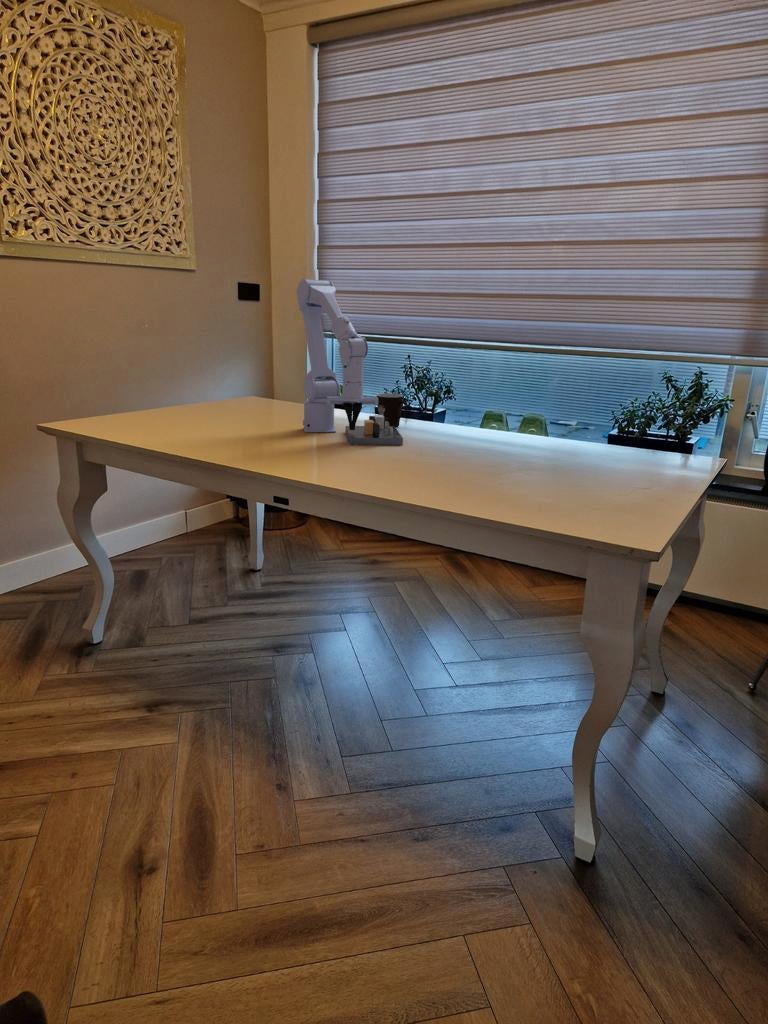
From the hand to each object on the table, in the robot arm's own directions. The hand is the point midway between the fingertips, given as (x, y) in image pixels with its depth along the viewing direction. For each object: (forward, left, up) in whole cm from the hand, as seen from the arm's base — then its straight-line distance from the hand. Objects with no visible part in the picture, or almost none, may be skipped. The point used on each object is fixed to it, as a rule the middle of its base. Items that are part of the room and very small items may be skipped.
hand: (352, 429), depth 191 cm
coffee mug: (+14, +21, -3) cm, 25 cm away
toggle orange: (+5, 0, -1) cm, 5 cm away
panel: (+6, +3, -3) cm, 8 cm away
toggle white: (+9, +9, -1) cm, 13 cm away
